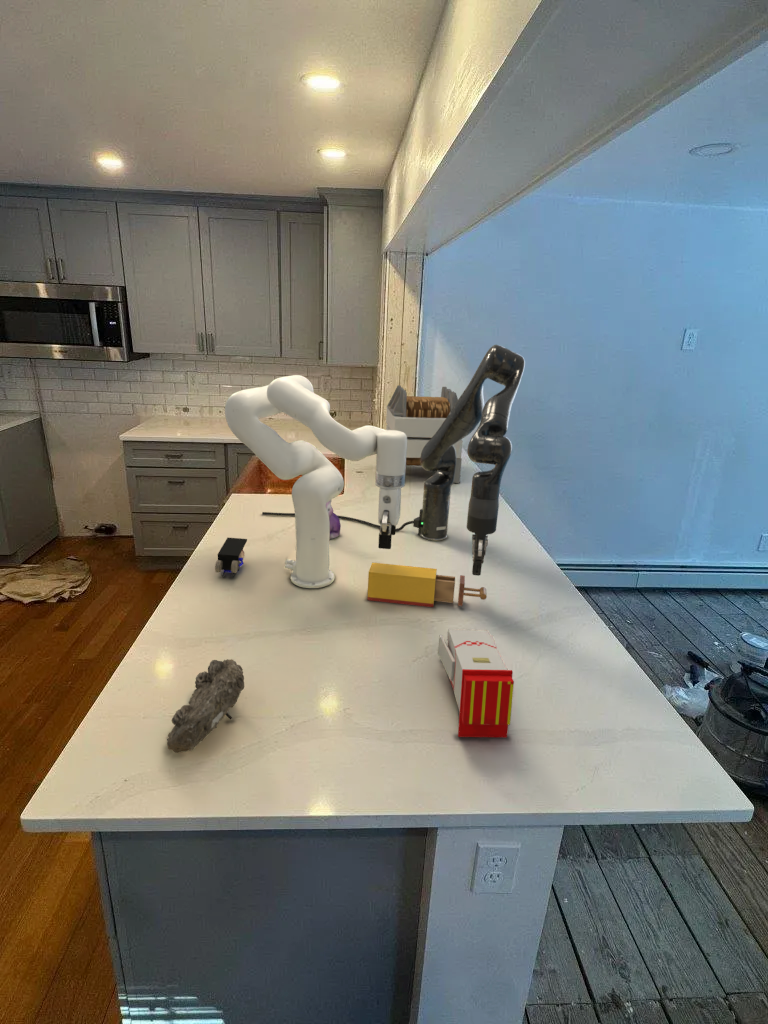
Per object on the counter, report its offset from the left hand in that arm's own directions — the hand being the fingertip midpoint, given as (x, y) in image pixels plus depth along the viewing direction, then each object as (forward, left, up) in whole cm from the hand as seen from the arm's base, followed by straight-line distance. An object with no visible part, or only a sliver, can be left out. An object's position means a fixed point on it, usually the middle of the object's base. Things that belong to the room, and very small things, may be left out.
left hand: (387, 541), depth 151 cm
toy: (+31, -31, -16) cm, 47 cm away
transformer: (-28, +124, -16) cm, 128 cm away
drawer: (+16, +4, -16) cm, 22 cm away
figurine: (-33, +33, -16) cm, 49 cm away
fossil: (-13, -59, -16) cm, 63 cm away
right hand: (+24, +5, -7) cm, 25 cm away
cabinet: (+5, +1, -16) cm, 17 cm away
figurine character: (-47, -4, -16) cm, 50 cm away
